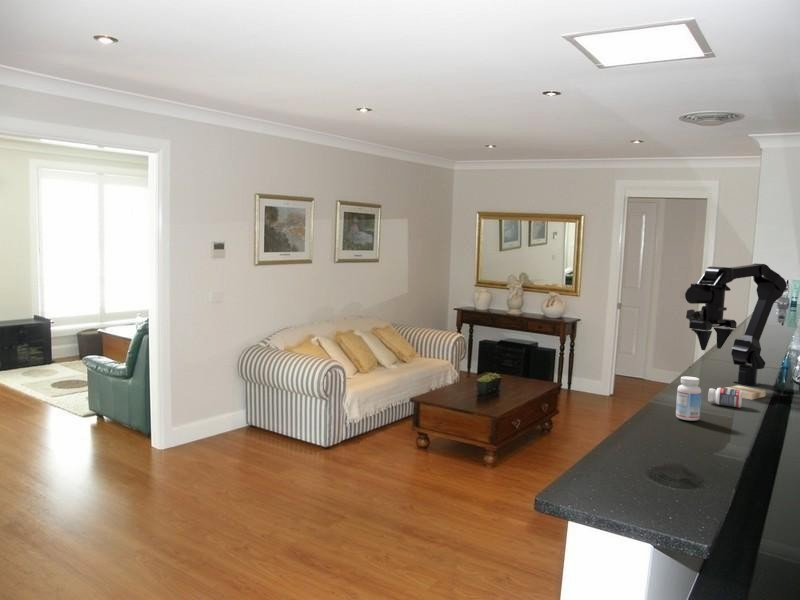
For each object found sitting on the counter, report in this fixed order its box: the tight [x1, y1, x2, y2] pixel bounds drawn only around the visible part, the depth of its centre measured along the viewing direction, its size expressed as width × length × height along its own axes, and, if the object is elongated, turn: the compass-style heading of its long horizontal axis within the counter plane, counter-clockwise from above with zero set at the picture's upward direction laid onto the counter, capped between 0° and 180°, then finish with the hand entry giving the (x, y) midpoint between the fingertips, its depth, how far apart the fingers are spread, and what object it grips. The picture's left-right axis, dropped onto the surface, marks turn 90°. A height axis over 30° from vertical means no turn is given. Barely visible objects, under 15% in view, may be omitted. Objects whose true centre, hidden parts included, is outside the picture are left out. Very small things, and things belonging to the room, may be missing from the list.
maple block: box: [725, 384, 767, 401], centre depth 206 cm, size 9×9×2 cm
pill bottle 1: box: [675, 375, 702, 422], centre depth 175 cm, size 6×6×11 cm
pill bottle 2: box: [707, 387, 743, 408], centre depth 192 cm, size 5×5×9 cm
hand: (711, 349), depth 217 cm, fingers open, 9 cm apart
